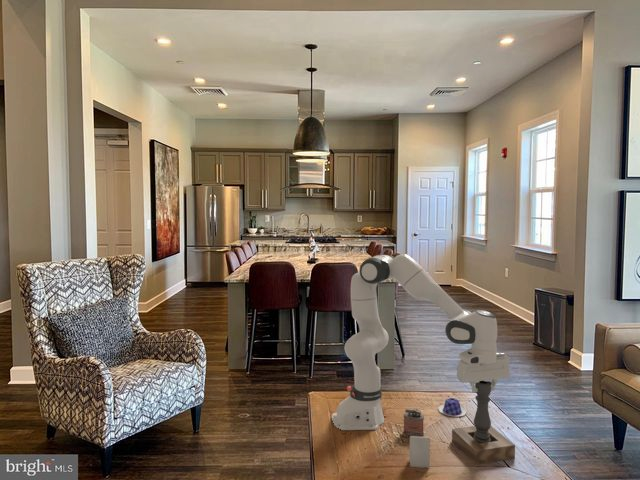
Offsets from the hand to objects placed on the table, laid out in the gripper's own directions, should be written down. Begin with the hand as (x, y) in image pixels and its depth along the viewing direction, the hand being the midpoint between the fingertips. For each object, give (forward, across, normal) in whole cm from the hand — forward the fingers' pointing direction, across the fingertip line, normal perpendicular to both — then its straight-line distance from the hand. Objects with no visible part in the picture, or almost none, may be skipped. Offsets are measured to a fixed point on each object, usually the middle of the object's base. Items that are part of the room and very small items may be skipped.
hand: (483, 391), depth 165 cm
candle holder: (+22, 0, 0) cm, 22 cm away
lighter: (+23, +20, -17) cm, 35 cm away
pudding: (+23, -5, -31) cm, 39 cm away
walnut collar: (+23, 0, 0) cm, 23 cm away
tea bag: (+23, +27, +3) cm, 35 cm away
